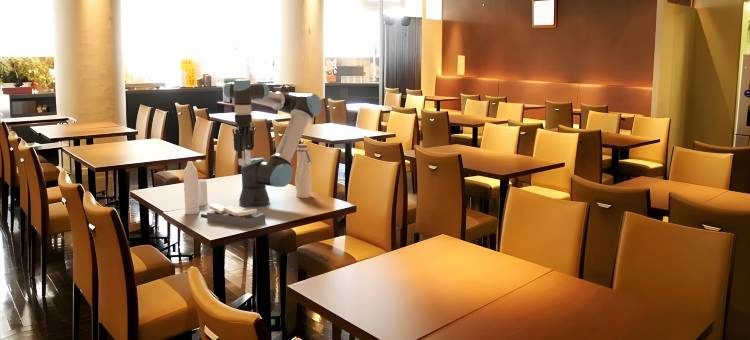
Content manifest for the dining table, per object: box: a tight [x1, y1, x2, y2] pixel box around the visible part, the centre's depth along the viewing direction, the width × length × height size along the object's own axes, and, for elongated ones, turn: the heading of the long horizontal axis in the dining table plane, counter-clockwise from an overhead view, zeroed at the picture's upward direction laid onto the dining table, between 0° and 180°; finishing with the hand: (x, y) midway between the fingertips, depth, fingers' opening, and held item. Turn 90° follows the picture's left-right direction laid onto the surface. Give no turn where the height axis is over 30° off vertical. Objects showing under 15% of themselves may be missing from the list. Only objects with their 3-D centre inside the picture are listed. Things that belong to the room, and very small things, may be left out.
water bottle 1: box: [182, 159, 202, 215], centre depth 290 cm, size 9×6×25 cm
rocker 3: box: [237, 208, 258, 216], centre depth 271 cm, size 5×7×1 cm
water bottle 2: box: [294, 143, 313, 199], centre depth 325 cm, size 10×9×28 cm
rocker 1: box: [208, 202, 226, 214], centre depth 277 cm, size 5×7×1 cm
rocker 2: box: [223, 204, 244, 216], centre depth 274 cm, size 5×7×1 cm
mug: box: [198, 178, 209, 207], centre depth 306 cm, size 8×12×12 cm
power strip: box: [200, 210, 266, 229], centre depth 278 cm, size 11×33×5 cm, turn 64°
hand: (244, 164), depth 282 cm, fingers open, 4 cm apart
